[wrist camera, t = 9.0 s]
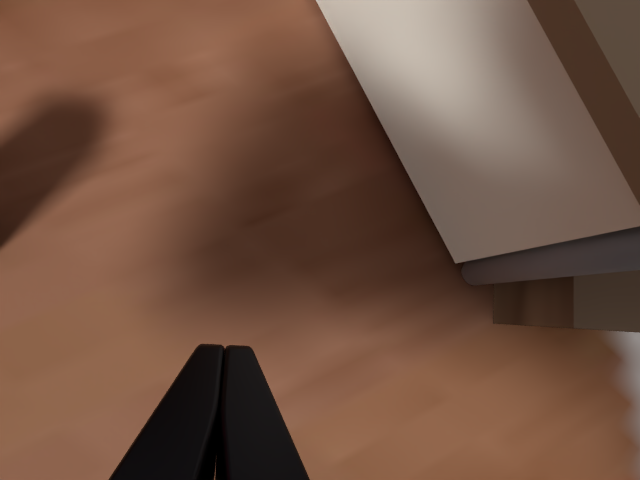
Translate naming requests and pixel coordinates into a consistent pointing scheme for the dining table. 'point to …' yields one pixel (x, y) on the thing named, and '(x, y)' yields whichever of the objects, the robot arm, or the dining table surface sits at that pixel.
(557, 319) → the gate frame
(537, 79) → the gate
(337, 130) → the dining table surface
